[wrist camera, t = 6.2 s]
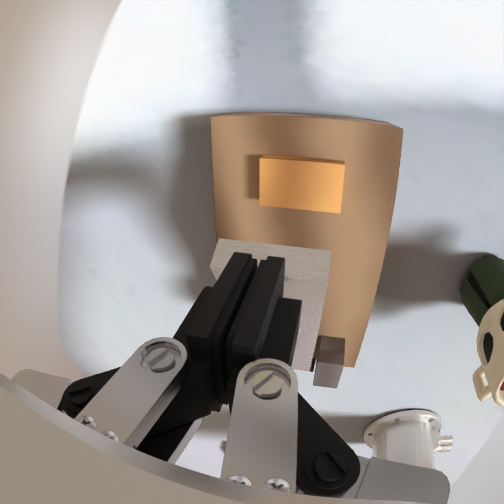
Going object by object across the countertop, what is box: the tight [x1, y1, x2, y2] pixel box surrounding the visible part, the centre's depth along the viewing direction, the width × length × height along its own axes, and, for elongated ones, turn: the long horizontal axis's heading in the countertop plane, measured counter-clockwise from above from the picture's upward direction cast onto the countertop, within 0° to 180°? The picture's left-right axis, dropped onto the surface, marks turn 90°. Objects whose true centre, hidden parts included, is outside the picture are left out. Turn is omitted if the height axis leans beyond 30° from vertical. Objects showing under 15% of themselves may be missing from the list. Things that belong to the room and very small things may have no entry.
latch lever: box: [210, 238, 331, 372], centre depth 17 cm, size 5×17×1 cm
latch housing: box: [211, 112, 403, 388], centre depth 23 cm, size 12×20×9 cm, turn 0°
